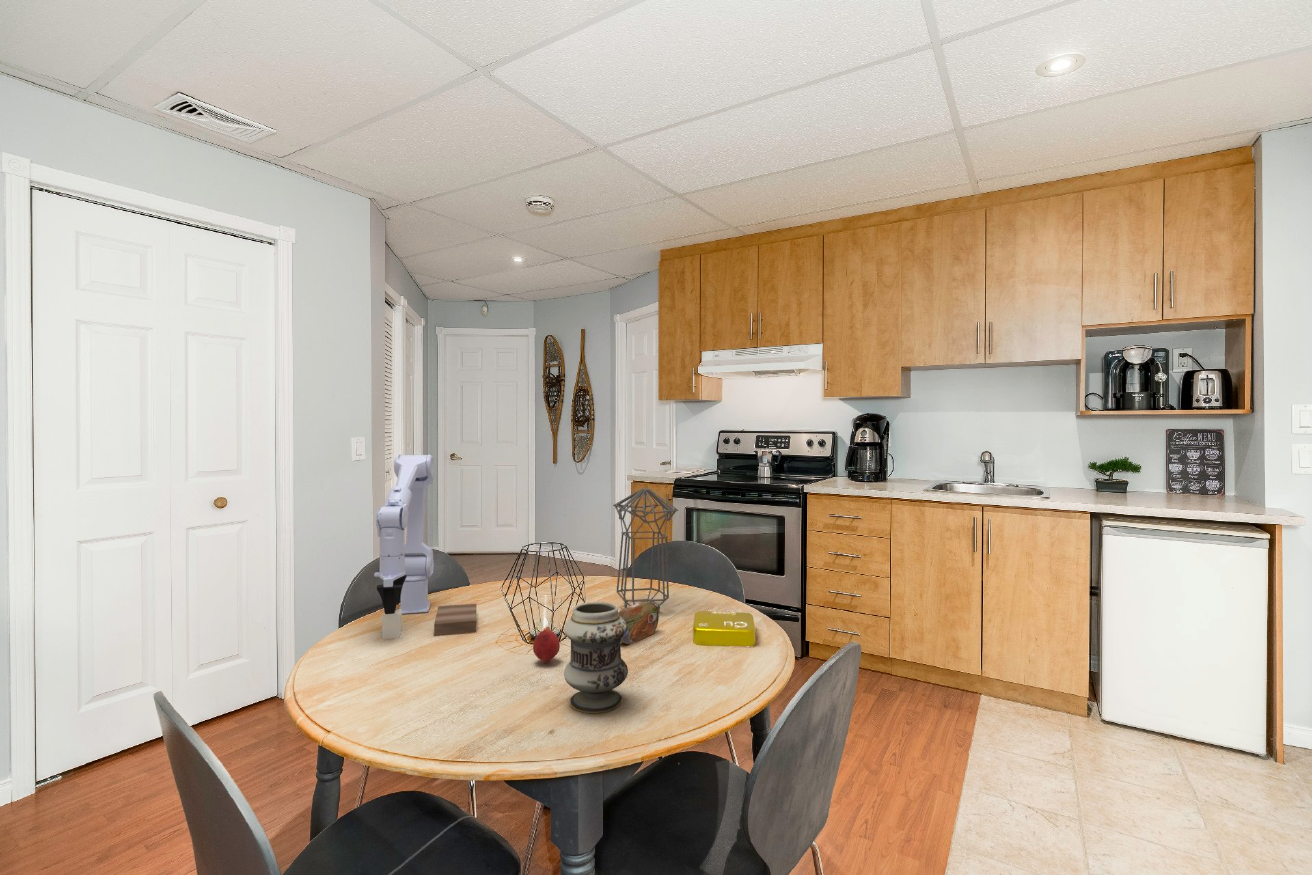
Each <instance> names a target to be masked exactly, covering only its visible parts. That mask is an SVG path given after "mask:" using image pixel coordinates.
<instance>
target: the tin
mask: <svg viewBox="0 0 1312 875" xmlns="http://www.w3.org/2000/svg"><path fill="white" fill-rule="evenodd" d="M656 606H657V605H656V604H655V603H653V602H652V601H651V602H650V601H649V602H636V603H635V605H634V604H633V605H631V606H629V605H628V606H627V608H624V607H623V608H622V609H620V610H618V613H619V616H621V617H622V618H623V619H624V620H625V622H626V624H627V630H626V633H625V635H624V636H623V637H622V638H621V642H620V644H621V643H622V644H626V645H633V644H635V643H638V642H640V641H641V640H644V639H647V638H648V637H651V636H652V635H653V634H654V633H655V632H656V630H657V628H658V625H659V619H660V618H659V615H660V614H659V613H660V612H659V613H658V609H657V607H656Z"/></svg>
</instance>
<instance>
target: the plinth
mask: <svg viewBox="0 0 1312 875" xmlns="http://www.w3.org/2000/svg"><path fill="white" fill-rule="evenodd" d="M475 632H476V633H477V603H465V604H449V605H439V606H437V611H436V615H435V619H434V622H433V637H436V636H437V637H439V636H440V635H441V636H449V635H450V636H451V635H462V634H463V633H465V634H474V633H475ZM476 633H475V634H476Z"/></svg>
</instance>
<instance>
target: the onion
mask: <svg viewBox="0 0 1312 875" xmlns="http://www.w3.org/2000/svg"><path fill="white" fill-rule="evenodd" d="M550 629H551V627H550V626H548V625H546V626H545V627H544V628H543V630H542V631H541V632H539V633H538V634H537V635H536V637H535V638H534V639H533V644H532V645H533V646H532V649H533V650H532V651H533V653H534V656H535V657H536V658H537V659H539V660H540V661H541V662H543V663H545V664H548V663H550V661H552V660H553V659H554V658H555V657H556V656H557V655H558V654H559V652H560V646H561V644H560V639H559V637H558V635H557V634H556V633H555V632H554V631H552V630H550Z"/></svg>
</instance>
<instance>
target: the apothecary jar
mask: <svg viewBox="0 0 1312 875" xmlns="http://www.w3.org/2000/svg"><path fill="white" fill-rule="evenodd" d="M563 630H564V634H565V637H567V638H568V639H569V640H570V660H569V662H568V663H567V664H566V665H565V668H564V670H563V676H564V680H565V682H566V684H568V686H570V687H571V688H573V689H574V690H577V692H576V693H574V694H573V695H572V696H571V698H570V700H569V704H570V707H571V708H572V709H573V710H575V711H577V712H581V713H585V714H601V713H608V712H610V711H613V710H615V709H617V708H619V707H620V706H621V704H622V702H623V696H622V694H621V693H619V692H618V691H616V690H614V689H616V688H618V687H619V686H620V685H621V684H623V683H624V681H625V680H626V679H627V678H628V674H629V669H628V665H627V663H626V662H625V660H624V659H622V651H621V650H622V649H621V647H622V646H621V638H622V637H623V636H624V635H625V633H626V630H627V624H626V622H625V620H624V619H623V618H622V617H621V616H619V608H618V605H617V604H614V603H613V602H608V601H607V602H606V601H590V602H584V603H580V604H577V605H575V606H574V607H573V609H572V614H571V617H569V619H568V620H567V621H566V622H565V624H564V628H563Z"/></svg>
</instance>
